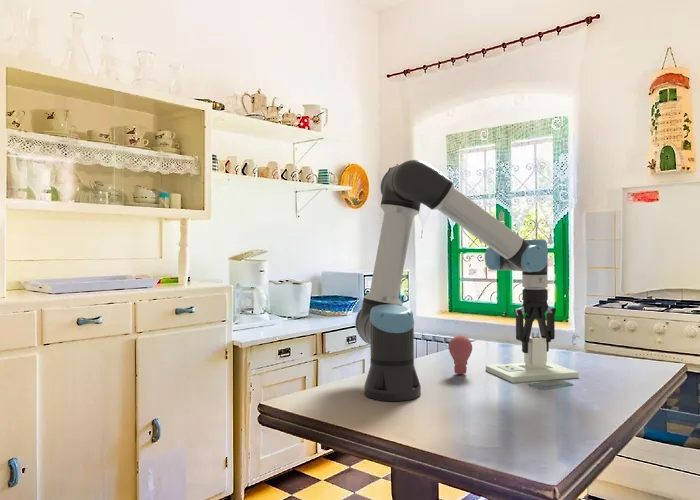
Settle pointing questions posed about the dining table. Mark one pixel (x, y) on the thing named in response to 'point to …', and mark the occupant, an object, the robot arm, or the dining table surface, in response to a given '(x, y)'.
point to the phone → (550, 384)
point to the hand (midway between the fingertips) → (535, 362)
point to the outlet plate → (531, 372)
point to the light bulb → (460, 353)
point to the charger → (537, 352)
